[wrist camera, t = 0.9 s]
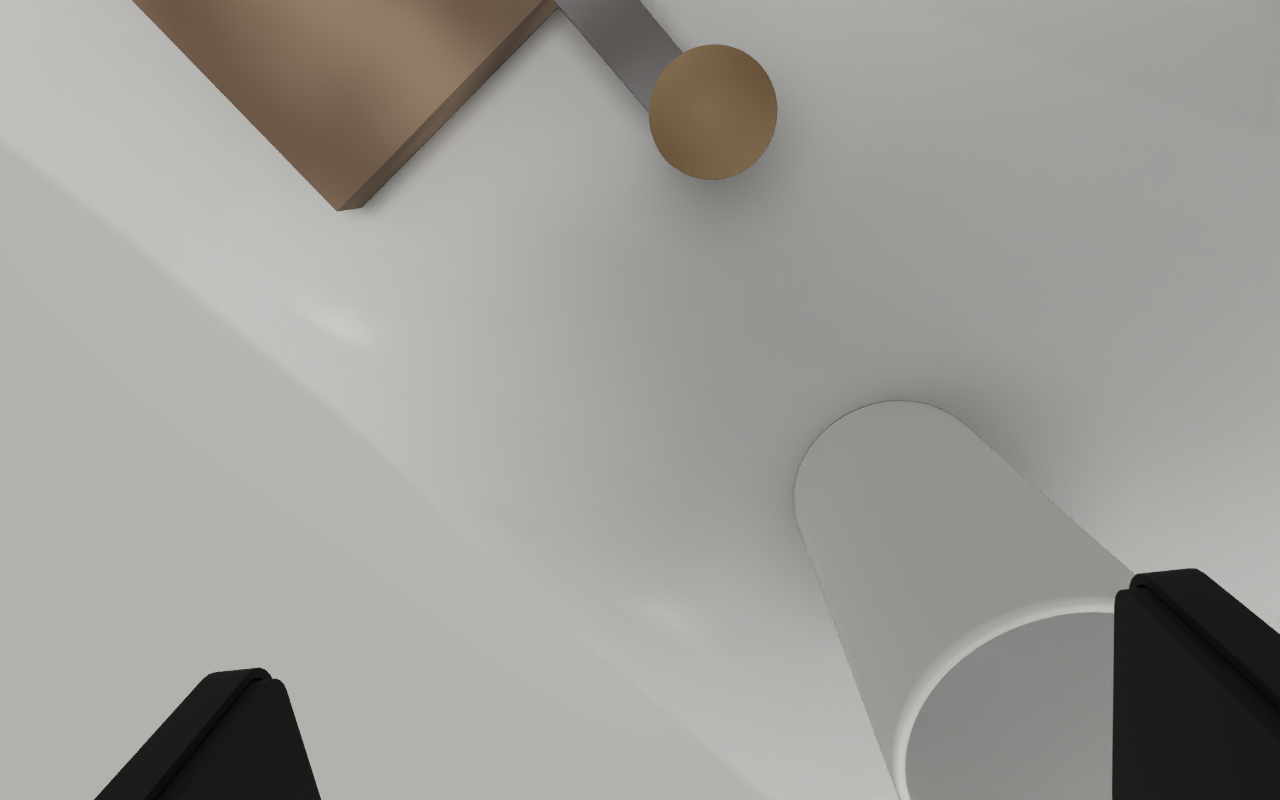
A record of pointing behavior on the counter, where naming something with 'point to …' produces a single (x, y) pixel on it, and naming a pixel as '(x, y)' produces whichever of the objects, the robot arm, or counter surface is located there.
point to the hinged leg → (684, 88)
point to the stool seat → (347, 73)
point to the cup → (962, 609)
